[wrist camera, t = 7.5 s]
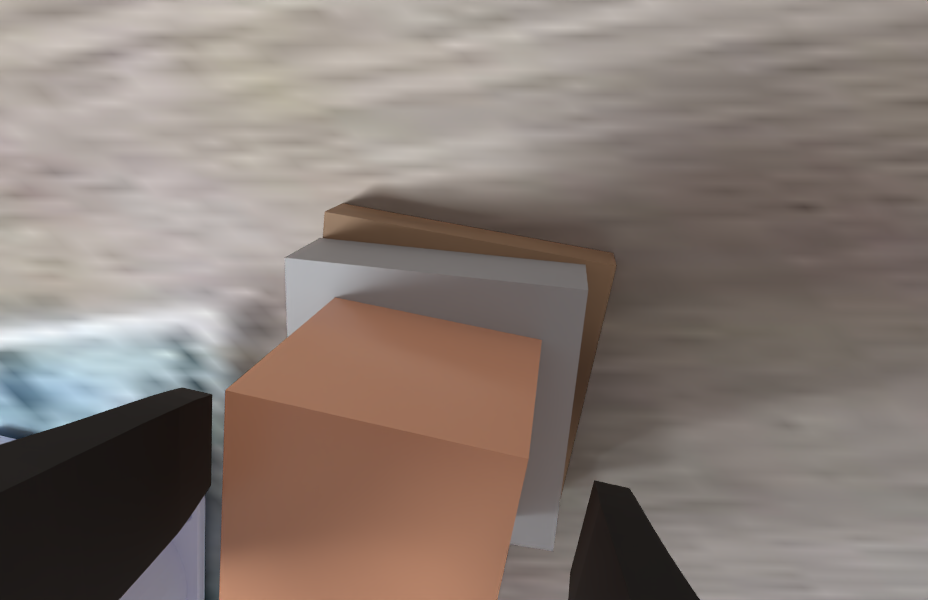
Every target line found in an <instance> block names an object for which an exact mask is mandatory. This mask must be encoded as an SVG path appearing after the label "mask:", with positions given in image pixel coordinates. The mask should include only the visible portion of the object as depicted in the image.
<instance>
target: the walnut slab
mask: <svg viewBox="0 0 928 600" xmlns="http://www.w3.org/2000/svg"><path fill="white" fill-rule="evenodd" d="M323 238H326V239H335V240H345V241H355V242H365V243H375V244H385V245H395V246H405V247H415V248H425V249H435V250H445V251H454V252H464V253H474V254H484V255H494V256H504V257H514V258H524V259H534V260H544V261H554V262H564V263H573V264H583V265H586V274H587V283H588V296H587V303H586V310H585V318H584V325H583V333H582V340H581V348H580V355H579V363H578V370H577V378H576V385H575V393H574V400H573V408H572V415H571V423H570V430H569V438H568V445H567V453H566V460H565V468H564V475H563V483H562V490H563V486H564V482H565V478H566V474H567V470H568V465H569V461H570V457H571V453H572V449H573V445H574V441H575V436H576V432H577V428H578V424H579V420H580V416H581V411H582V407H583V403H584V399H585V395H586V391H587V387H588V382H589V378H590V374H591V370H592V366H593V362H594V357H595V353H596V349H597V345H598V341H599V337H600V333H601V328H602V324H603V320H604V316H605V312H606V308H607V303H608V299H609V295H610V291H611V287H612V283H613V279H614V274H615V270H616V266H617V265H616V262H615V258H614V255H613V253H610V252H605V251H600V250H594V249H589V248H583V247H578V246H572V245H567V244H561V243H556V242H551V241H545V240H540V239H534V238H529V237H523V236H518V235H512V234H507V233H502V232H496V231H491V230H485V229H480V228H474V227H469V226H464V225H458V224H453V223H447V222H442V221H436V220H431V219H425V218H420V217H415V216H409V215H404V214H398V213H393V212H387V211H382V210H376V209H371V208H366V207H360V206H355V205H349V204H344V203H342V204H340V205H338V206H336V207H334V208H332V209H330V210H327V211H325V215H324V229H323ZM562 490H561V495H562ZM560 499H561V498H560Z"/></svg>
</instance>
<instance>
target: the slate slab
mask: <svg viewBox="0 0 928 600" xmlns="http://www.w3.org/2000/svg"><path fill="white" fill-rule="evenodd" d="M285 283H286V316H287V338H288V337H289V336H290V335H291V334H292V333H293V332H295V331H296V330H297V329H298V328H299V327H301V326H302V325H303V324H304V323H305V322H306V321H308V320H309V319H310V318H311V317H312V316H313V315H315V314H316V313H317V312H318V311H319V310H321V309H322V308H323V307H324V306H325V305H326V304H328V303H329V302H330V301H331V300H332V299H334V298H335V297H336V298H341V299H346V300H351V301H356V302H361V303H365V304H370V305H375V306H380V307H385V308H390V309H394V310H399V311H404V312H409V313H414V314H419V315H424V316H428V317H433V318H438V319H443V320H448V321H453V322H457V323H462V324H467V325H472V326H477V327H482V328H486V329H491V330H496V331H501V332H506V333H511V334H516V335H520V336H525V337H530V338H535V339H540V340H542V344H541V353H540V362H539V371H538V380H537V389H536V398H535V407H534V416H533V425H532V434H531V443H530V452H529V460H528V464H527V469H526V473H525V478H524V482H523V487H522V491H521V496H520V500H519V505H518V509H517V514H516V518H515V522H514V527H513V531H512V536H511V540H510V544H511V545H517V546H523V547H529V548H536V549H542V550H548V551H553V550H554V542H555V535H556V528H557V520H558V513H559V505H560V498H561V490H562V483H563V475H564V468H565V460H566V453H567V445H568V438H569V430H570V423H571V415H572V408H573V400H574V393H575V385H576V378H577V370H578V363H579V355H580V348H581V340H582V333H583V325H584V318H585V310H586V303H587V296H588V283H587V274H586V265H583V264H573V263H564V262H554V261H544V260H534V259H524V258H514V257H504V256H494V255H484V254H474V253H464V252H454V251H445V250H435V249H425V248H415V247H405V246H395V245H385V244H375V243H365V242H355V241H345V240H335V239H326V238H319V239H317V240H316V241H314V242H312V243H310V244H308V245H307V246H305V247H303V248H301V249H299V250H298V251H296V252H294V253H292V254H290V255H289V256H287V257H285Z"/></svg>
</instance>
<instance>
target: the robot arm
mask: <svg viewBox="0 0 928 600" xmlns="http://www.w3.org/2000/svg"><path fill="white" fill-rule="evenodd" d="M211 446H212V394H208V393H204V392H200V391H195V390H191V389H186V388H179V389H174V390H170V391H167V392H163V393H160V394H156V395H153V396H150V397H147V398H144V399H141V400H138V401H135V402H132V403H129V404H126V405H123V406H120V407H117V408H114V409H111V410H108V411H105V412H102V413H99V414H96V415H93V416H90V417H87V418H84V419H81V420H78V421H75V422H72V423H69V424H66V425H63V426H59V427H56V428H53V429H50V430H46V431H43V432H40V433H36V434H33V435H30V436H26V437H23V438H20V439H13V438H9V437H5V436H0V600H204V597H205V494H206V492H207V491H208V489H209V488H210V486H211ZM568 600H700V599H699V598H698V596H697V595H696V593H695V592H694V591H693V589H692V588H691V586H690V585H689V583H688V582H687V580H686V579H685V577H684V576H683V574H682V573H681V571H680V570H679V568H678V567H677V565H676V564H675V562H674V561H673V559H672V558H671V556H670V554H669V553H668V551H667V550H666V548H665V546H664V545H663V543H662V542H661V540H660V538H659V537H658V535H657V533H656V532H655V530H654V528H653V527H652V525H651V523H650V522H649V520H648V518H647V517H646V515H645V513H644V512H643V510H642V508H641V506H640V505H639V503H638V501H637V500H636V498H635V496H634V495H633V493H632V492H631V490H630V489H629V488H626V487H621V486H617V485H612V484H608V483H604V482H599V481H595V480H594V484H593V488H592V491H591V495H590V499H589V503H588V507H587V511H586V514H585V518H584V522H583V526H582V530H581V533H580V537H579V541H578V545H577V549H576V553H575V556H574V560H573V564H572V568H571V572H570V584H569V599H568Z"/></svg>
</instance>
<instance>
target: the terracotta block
mask: <svg viewBox="0 0 928 600" xmlns="http://www.w3.org/2000/svg"><path fill="white" fill-rule="evenodd" d="M541 344H542V340H540V339H535V338H530V337H525V336H520V335H516V334H511V333H506V332H501V331H496V330H491V329H486V328H482V327H477V326H472V325H467V324H462V323H457V322H453V321H448V320H443V319H438V318H433V317H428V316H424V315H419V314H414V313H409V312H404V311H399V310H394V309H390V308H385V307H380V306H375V305H370V304H365V303H361V302H356V301H351V300H346V299H341V298H336V297H335V298H334V299H332V300H331V301H330V302H329V303H328V304H326V305H325V306H324V307H323V308H322V309H321V310H319V311H318V312H317V313H316V314H315V315H313V316H312V317H311V318H310V319H309V320H308V321H306V322H305V323H304V324H303V325H302V326H301V327H299V328H298V329H297V330H296V331H295V332H293V333H292V334H291V335H290V336H289V337H288V338H286V339H285V340H284V341H283V342H282V343H280V344H279V345H278V346H277V347H276V348H275V349H273V350H272V351H271V352H270V353H269V354H267V355H266V356H265V357H264V358H263V359H262V360H260V361H259V362H258V363H257V364H256V365H254V366H253V367H252V368H251V369H250V370H249V371H247V372H246V373H245V374H244V375H243V376H242V377H240V378H239V379H238V380H237V381H236V382H234V383H233V384H232V385H231V386H230V387H229V388H227V389H226V390H225V419H224V453H223V487H222V521H221V555H220V589H219V600H497V599H498V594H499V590H500V585H501V581H502V576H503V572H504V567H505V563H506V558H507V554H508V549H509V545H510V540H511V536H512V531H513V527H514V522H515V518H516V514H517V509H518V505H519V500H520V496H521V491H522V487H523V482H524V478H525V473H526V469H527V464H528V460H529V452H530V443H531V434H532V425H533V416H534V407H535V398H536V389H537V380H538V371H539V362H540V353H541Z"/></svg>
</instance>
